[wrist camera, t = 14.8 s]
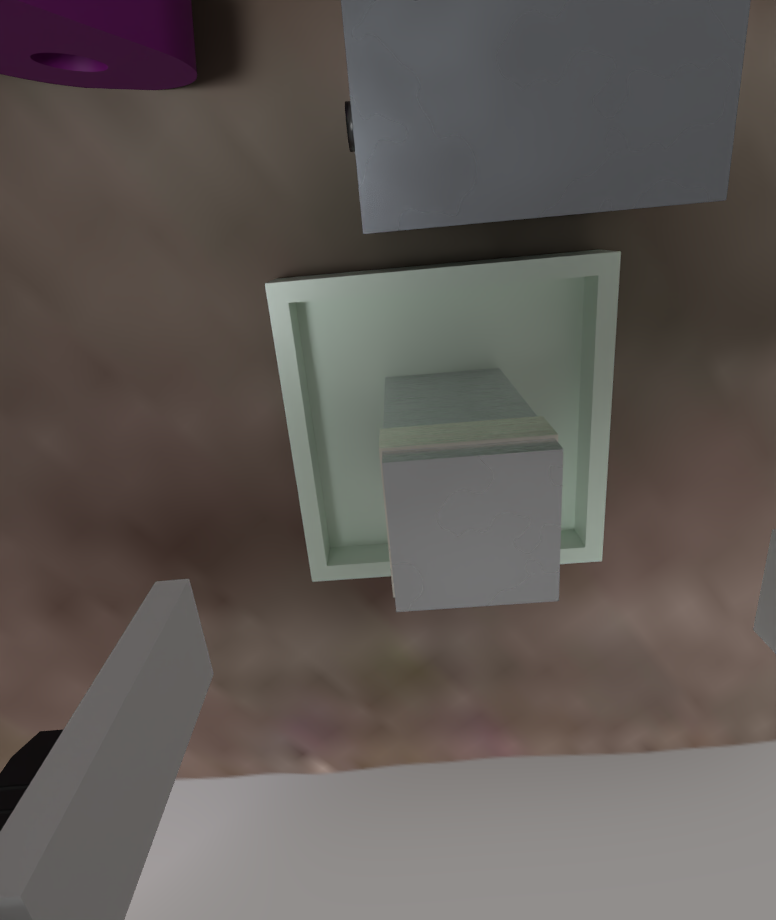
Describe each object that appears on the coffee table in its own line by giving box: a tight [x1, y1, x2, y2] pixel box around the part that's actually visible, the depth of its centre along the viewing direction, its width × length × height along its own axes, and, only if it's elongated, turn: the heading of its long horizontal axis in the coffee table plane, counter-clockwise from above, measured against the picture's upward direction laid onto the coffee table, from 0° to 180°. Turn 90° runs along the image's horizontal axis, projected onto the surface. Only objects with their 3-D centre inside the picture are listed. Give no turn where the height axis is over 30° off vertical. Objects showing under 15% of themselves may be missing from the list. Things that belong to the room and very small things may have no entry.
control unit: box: [341, 0, 751, 234], centre depth 18 cm, size 10×6×10 cm, turn 95°
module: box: [379, 368, 563, 612], centre depth 21 cm, size 5×5×10 cm
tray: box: [265, 249, 621, 582], centre depth 26 cm, size 14×14×2 cm
